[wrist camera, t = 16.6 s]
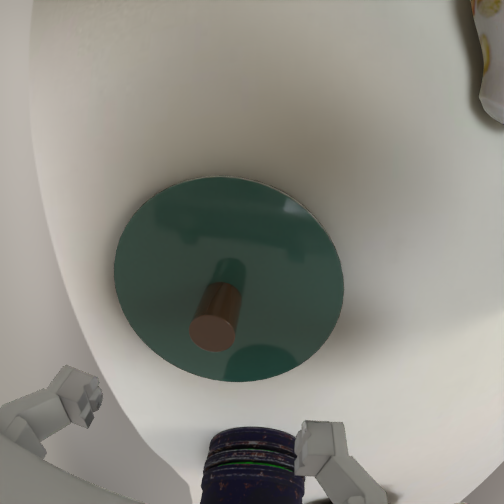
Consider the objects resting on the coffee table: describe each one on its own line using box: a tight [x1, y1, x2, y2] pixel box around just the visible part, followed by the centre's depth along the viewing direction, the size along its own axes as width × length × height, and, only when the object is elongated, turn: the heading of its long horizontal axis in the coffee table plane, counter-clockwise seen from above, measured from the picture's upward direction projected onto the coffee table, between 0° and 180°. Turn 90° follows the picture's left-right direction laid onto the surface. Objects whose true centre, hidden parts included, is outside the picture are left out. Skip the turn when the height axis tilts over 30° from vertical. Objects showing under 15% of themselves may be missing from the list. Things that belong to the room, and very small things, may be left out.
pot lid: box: [114, 175, 344, 382], centre depth 17 cm, size 14×14×5 cm
